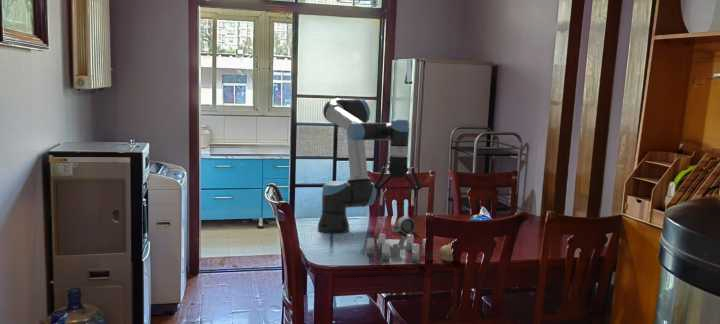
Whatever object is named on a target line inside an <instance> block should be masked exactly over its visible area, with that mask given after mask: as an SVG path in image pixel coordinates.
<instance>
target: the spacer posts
mask: <svg viewBox="0 0 720 324" xmlns="http://www.w3.org/2000/svg"><path fill="white" fill-rule="evenodd" d="M386 235H387V234H386V233H378V238H377V239H378V245H377V251H378V252H381V262H382V263H389V262H390V244H389V243H385V239H387V236H386ZM414 238H415V236H414V234H413V233H411V234H406V249H405V252H408V253H411V263H413V264H417V263H419V262H420V252H421V257H423V258H425V257H424V255H425V243H426V239H427V238H423V239H422V243H421V244H422V247H421V251H420V246H421V245H420V244H419V243H414ZM365 252H366V253H365V254H366V257H371V258H372V257H374V255H375V253H374V252H375V238H374V237H367V238H366V251H365Z"/></svg>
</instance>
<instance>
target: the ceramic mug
mask: <svg viewBox="0 0 720 324" xmlns="http://www.w3.org/2000/svg"><path fill="white" fill-rule="evenodd" d="M415 229H416V222H415V221H414V220H413V219H412V218H410V217H407V216H401V217H399V218H398V220H397V222H396V225H395V226H393V227H392V228H391V232H392V233H393V234H394V233H398V232H401V233H403V234H404V235H407V234H413V233H414V231H415Z"/></svg>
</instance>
